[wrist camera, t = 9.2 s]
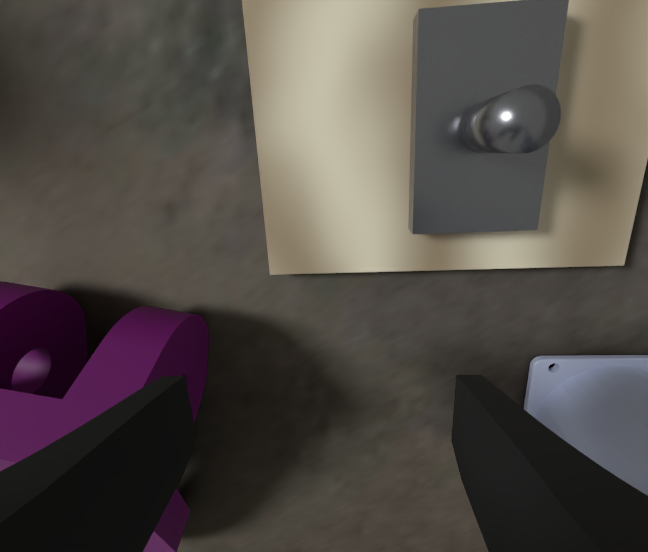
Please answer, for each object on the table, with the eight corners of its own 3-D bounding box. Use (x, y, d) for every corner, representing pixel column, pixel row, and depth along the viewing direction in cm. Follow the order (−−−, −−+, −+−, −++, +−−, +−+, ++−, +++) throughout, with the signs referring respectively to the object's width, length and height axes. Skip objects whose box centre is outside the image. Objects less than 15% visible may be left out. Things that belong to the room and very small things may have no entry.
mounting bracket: (228, 433, 30) (199, 281, 17) (187, 563, 24) (97, 477, 11) (114, 413, 30) (2, 247, 17) (45, 537, 24) (-204, 422, 11)
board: (741, -388, 11) (791, -457, 10) (609, 259, 17) (628, 267, 16) (218, -305, 12) (203, -356, 11) (274, 268, 19) (268, 276, 17)
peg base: (551, 9, 13) (656, -66, 9) (524, 224, 16) (594, 254, 11) (413, 20, 14) (444, -46, 9) (408, 228, 16) (431, 258, 12)
